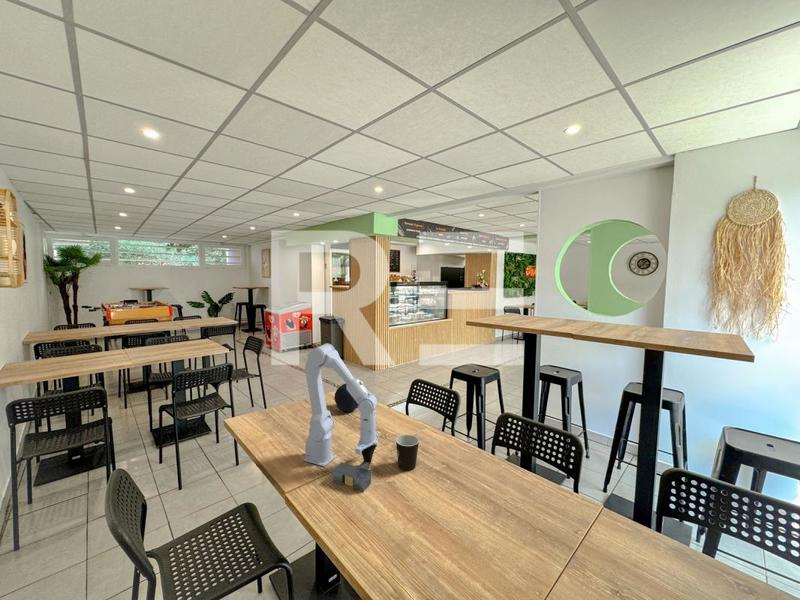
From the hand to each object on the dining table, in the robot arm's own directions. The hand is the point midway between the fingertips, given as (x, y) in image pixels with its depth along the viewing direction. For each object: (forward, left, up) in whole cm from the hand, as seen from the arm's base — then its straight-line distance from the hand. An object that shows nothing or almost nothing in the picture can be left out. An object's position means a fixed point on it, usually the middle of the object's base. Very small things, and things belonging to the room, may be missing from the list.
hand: (367, 463), depth 120 cm
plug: (0, -7, -1) cm, 7 cm away
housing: (0, -11, -1) cm, 11 cm away
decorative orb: (-34, +41, -1) cm, 53 cm away
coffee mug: (+13, +8, -1) cm, 15 cm away
